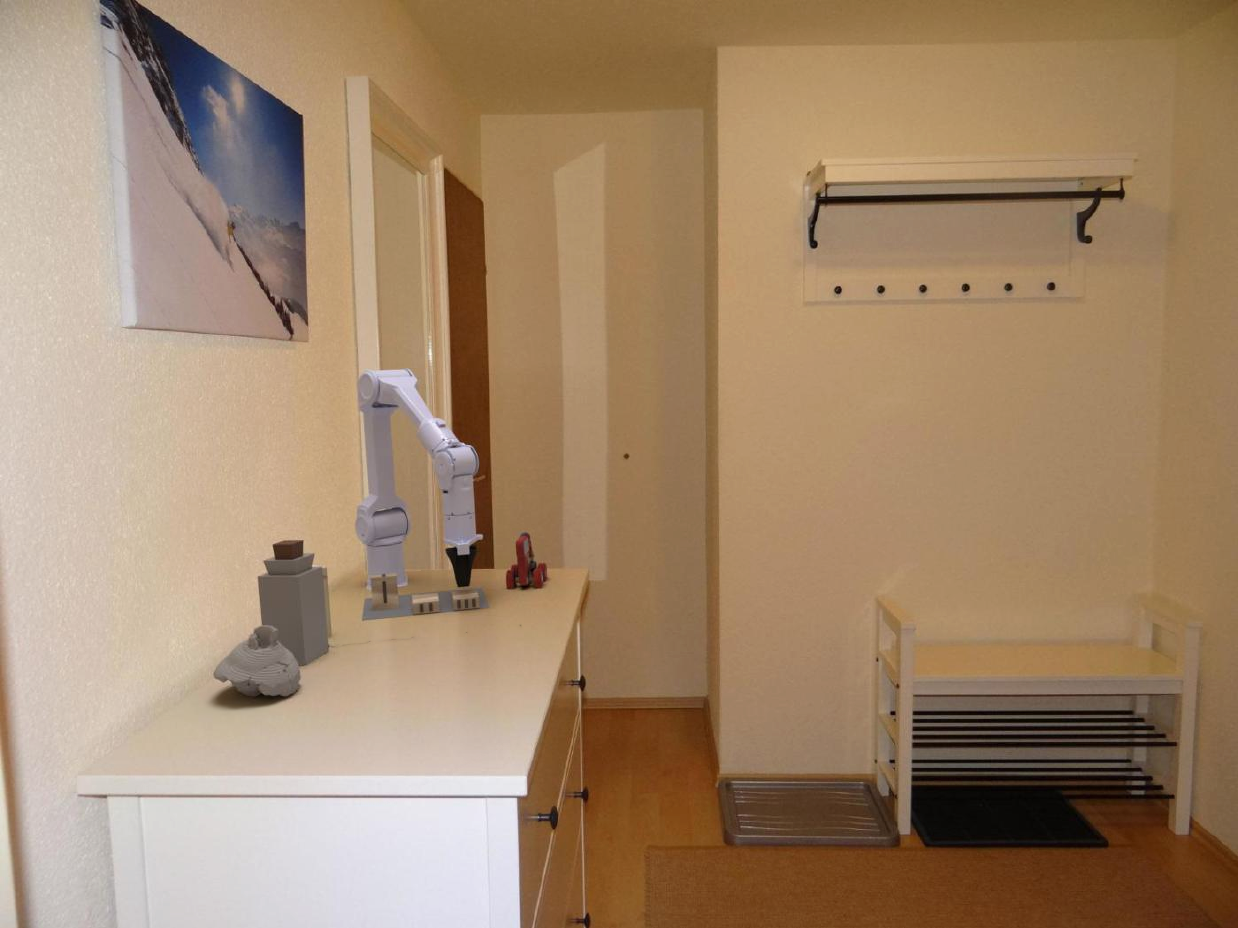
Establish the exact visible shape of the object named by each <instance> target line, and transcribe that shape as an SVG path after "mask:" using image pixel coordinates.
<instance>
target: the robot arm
mask: <svg viewBox="0 0 1238 928" xmlns="http://www.w3.org/2000/svg"><path fill="white" fill-rule="evenodd" d="M356 387H357V400H358V410H359V412H361V413H362V415H363V416H362V418H363V428H364V431H363V432H364V442H365V443H364V445H365V459H366V470H367V471H366V472H367V473H366V474H367V485H368V486H367V487H368V495H367V497H365V498H364V499H363V500H362V501H361V502H359V504H358V505H357V506H356V519H355V524H354V530H355V534H356V536H357V538H358V539H359V541H361V542H362V544H363V545H365V546H366V547H365V548H366V562H367V572H368V573H367V574H368V575H367V577H368V578H367V581H366V590H372V589H371V576H373V575H382V574H395V573H397V587H405V586H408V585H409V584H408V575H406V571H405V570H406V569H405V557H404V556H405V555H404V541H406V540H407V536H408V535H409V533H410V531H411V527H412V522H411V521H412V520H411V517H410V513H409V511H408V505H407V502H406V500H404V499H403V498H401V497H400V496H399V495H398V494H396V481H395V479H396V478H395V467H394V466H395V465H394V453H393V452H394V451H393V450H394V449H393V440H392V426H391V425H392V424H391V423H392V422H391V417H392V416H393V414H394V413H395V412H396V410H398V409H400V410H401V411H403V413H404V414H405V415H406V416H407V418H408V419H409V420H410V421H411V422H412V423H413V424H414V425H415V427H417V429H418V430H417V433H416V434H417V435H416V436H417V439H418V440H419V442H420V443H421V444H422V446H423V448H424V449H425V451H427V453H428V454H429V456H430V457H431V458H432V459H433V463H432V469H433V472H434V474H435V476H436V478H437V485H438V489H440V490H441V501H442V518H443V519H442V520H443V533H444V535H443V536H444V537H443V538H442V539H443V543H444V544H446V545H449V546H452V547H445V549H444V550H445V554H446V555H447V557H448V558H449V561H450V563H451V565H452V571H453V575H454V579H455V582H456V586H457V588H465V587H470V585H471V579H472V571H473V570H472V569H473V564H474V562H475V558H476V556H477V554H478V549H477V545H476V544H475V543H476V542H477V541H479V540H480V541H481V540H483V539H484V538H483V537H484V535H483V534H480V533H479V534H477V526H476V510H475V509H476V508H475V495H474V494H475V493H474V477H475V476H476V474H477V473H478V471H479V466H480V461H479V456H478V454H477V452H476V450H475V448H474V447H473V446H472V445H469V444H465V442H460V441H459V439H458V438H457V436H456V435H455V434H454V432H453V431H452V430H451V429H450V428H449V426H448V425H447V422H446V421H445V420H444V419H442V418H440V417H434V416H433V414H432V412H431V411H430V409H429V408H428V406H427V404H426V403H425V401H424V400H423V398H422V396H421V394H420V393H419V380H418V378H416V376H415V374H414V373H413V372H412V370H411V369H410V368H401V369H380V370H378V369H377V370H371V369H365V370H364V371H363V372H362V373H361V374H360V376H359V377H358V380H357V381H356Z"/></svg>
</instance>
